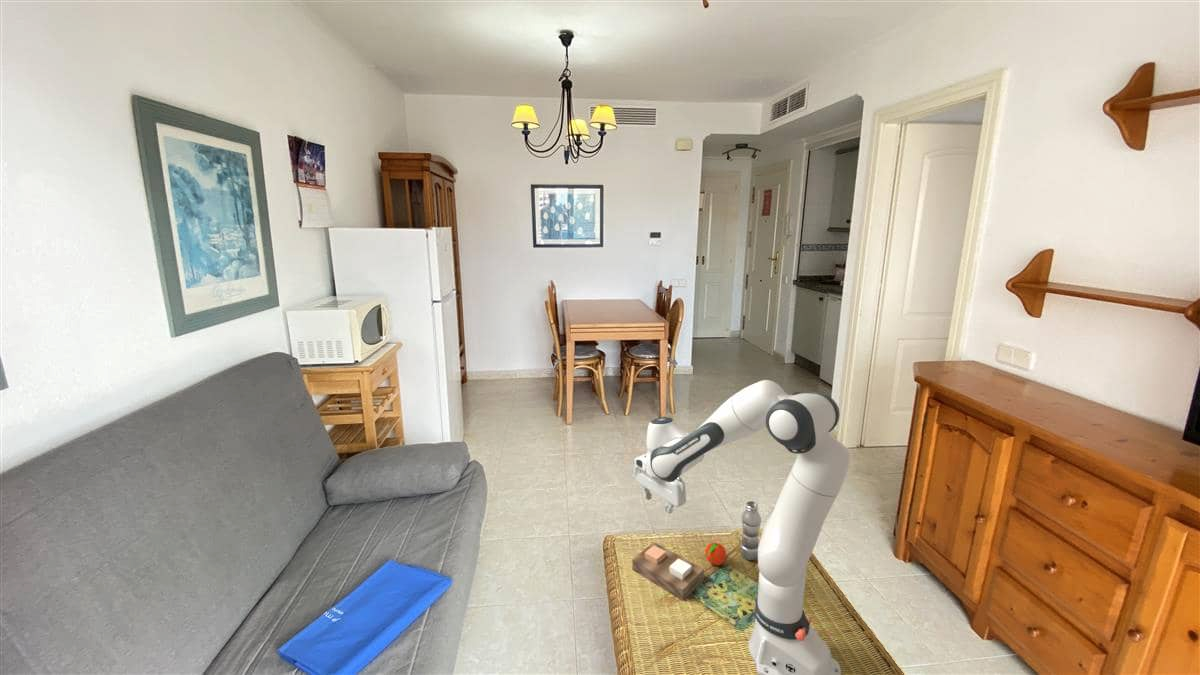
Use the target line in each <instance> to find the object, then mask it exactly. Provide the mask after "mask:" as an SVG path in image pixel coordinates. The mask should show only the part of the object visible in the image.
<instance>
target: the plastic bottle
mask: <svg viewBox="0 0 1200 675" xmlns="http://www.w3.org/2000/svg"><path fill="white" fill-rule="evenodd" d="M758 508H759V507H758V503H757V502H755V501H752V500H751V501H749V500H748V501H747V502H746V505H745V510H743V512H742V515H741V525H742V536H741V542H740V545H739V546H740V547H739V551H740V555H741V556H742V557H743V559H744V560H745V559H746V560H747V561H754V560H758V546H759V542H760V540H759V534H760V528H761V524H762V518H761V515H760V513H759V511H758V510H759V509H758Z"/></svg>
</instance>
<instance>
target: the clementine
mask: <svg viewBox="0 0 1200 675" xmlns="http://www.w3.org/2000/svg"><path fill="white" fill-rule="evenodd" d="M704 553H705V554H704V555H705V557H706V561H708V562H709V563H710V564H711V565H714V566H720V565H722V564H723V563H725V561H726V559H727V551H726V549H725V547H724V546H723V545H722V544H721V543H718V542H711V543H708V545H707V546H706V548H705V551H704Z"/></svg>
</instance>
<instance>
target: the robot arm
mask: <svg viewBox="0 0 1200 675" xmlns="http://www.w3.org/2000/svg"><path fill="white" fill-rule="evenodd" d="M840 414H841V413H840V408H839V406H838V404H837V401H835V400H834V398H832V397H831V396H829V395H828V394H825V393H823V392H821V393H820V392H814V391H804V392H803V391H796V392H793V394H788V393H786V392H785V391H784V389H783V388H782V387H781V386H780V385H779V384H778V383H777V382H775V381H773V380H768V379H763V380H759V381H757V382H755V383H753V384H750V385H747V386H746V387H744V388H742V389H741V390H740V391H738V392H736V393H734V394H733V395H731V396H730V397H729V398H728V399H726V400H725V401H724V402H723V403H722V404H721V405H720V406H719V407H718V408H717V409H716V410H715V411H714V412H713V413H712V414H711V415H710V416H709V417H708V418H707V419H706V420H705V421H704V422H703V423H702V424H700V426H699V427H698V428H697V429H695V430H694V431H692V432H691V433H689V432H687V431H685V430H684V429H682V428H681V427H680V426H679V425H678V424H677V423H676V422H677V421H675V419H673V418H671V417H669V416H661V417H656V418H654V419H652V420H651V421H650V422H649V423H648V426H647V431H646V444H645V445H646V449H647V452H646V453H644V454H641V455H638V456H637V457H634V461H633V462H634V466H633V467H634V468H633V480H634V481H635V483H637V484H639V485H641V486H642V487H641V488H642V491H643V493H644V499H646V500H647V501H650V500H651V499H652V495H653V494H655V495H656V496H658V497H659V498H661V499H662V500H664V501H666V502H667V504H668V505H667V506H665V512H666V513H667V514H672V513H673V510H674V507H675V508H680V507H682V506H683V505H685V504H686V503H687V493H686V484H685V482H684V481H683V479H682V477H681V476H682V475H683V474H685V473H686V472H688V471H689V470H691V469H693V467H696V465H698V464H700V462H702V461H703V459H704V456H705V454H706V453H708V452H710V451H712V450H715V449H717V448H719V447H722V446H725V445H727V444H730V443H733V442H737V441H740V440H741V439H745V438H747V437H749V436H751V435H753V434H756V433H758V432H759V431H760V430H762V429H764V428H766V430H767V431H768V433H769V434H770V436H771V437H772V438H773V440H775V441H776V442H778V443H779V444H780V445H782V446H783V447H784V448H785V449H786V450H788V452H789V453H792V454H797V456H796V460H795V461H794V463H793V465H792V468H791V470H790V472H789V474H788V476H787V478H786V480H785V483H784V485H783V487H782V488H781V491H780V493H779V495H778V498H777V500H776V503H775V506H774V507H773V508H772V509H771V510H770V511H769V512H768V515H767V516H766V517H765V521H764V524H763V528H762V531H761V532H762V533H761V536H760V540H759V546H758V558H757V566H758V569H759V572H758V584H757V585H758V586H757V597H756V599H755V605H754V618H755V620H754V621H755V622H754V625H753V626H754V627H753V630H752V633H751V635H750V637H749V639H748V643H747V644H748V645H747V646H748V652H749V654H750V655H751V658H752V660H753V661H754V663H755V669H756V673H757V674H758V675H842V671H841V666H840V663H839V662H838V661H837V660H836V659H834V658H833V657H832V652H831V649H830V646H829V645H828V644H827V643H826V641H825V640H823V639H822V637H821V636H820V635H819V633H818V631H817V630H816V629H814V628H813V627H812V626H811V623H812V621H813V620H812V618H813V616H812V615H810V616H809V618H807V617H806V616H807V615H806V613H805V611H804V599H805V587H806V578H807V577H806V576H807V566H808V563H809V560H810V558H811V556H812V553H813V551H814V548H815V547H816V543H817V541H818V539H819V536H820V533H821V530H822V529H823V525H824V522H825V521H826V518H827V516H828V515H829V512H830V510H831V508H832V506H833V505H834V503H835V500H837V497H838V495H839V493H840V491H841V489H842V487H843V484H844V482H845V479H846V477H847V474H848V470H849V468H850V467H849V466H850V462H851V456H850V452H849V451H848V448H846V446H845V445H844V444H843V443H842V442H840V441H839V440H837V439H835V438H834V437H833V436H832V435H831V434H830V432H832V431H833V430H834V429H835V428H836V427H837V425H838V423H839V421H840V417H841V416H840ZM652 493H653V494H652Z"/></svg>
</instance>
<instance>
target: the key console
mask: <svg viewBox="0 0 1200 675" xmlns="http://www.w3.org/2000/svg"><path fill="white" fill-rule="evenodd" d="M653 545H655V546H657V547H658V548H660V549H662V550H664V551H666V558H665V559H664V560H663V561H662V562H661V563H659V564H658V565H655V564H654V563H652V562H650V561H648V560H647V559H645V552H646V551H647V550H648V549H650V548H651V547H652V546H653ZM677 559H680V560H682V561H684V562H686V563H688V564H689V565H691V566H692V571H691V573H690V574H689V575H688V576H687V577H686V578H685V579H684V580H681V579H679V578H678V577H676V576H674V575H672V574H671V573H669V566H671V565H672V564H673V563H674V562H675V561H676V560H677ZM631 560H632V561H631V563H632V564H631V566H632V567H631V569H632V571H634V572H635V573H637V574H638V575H640V576H642V577H643V578H644V579H646V580H648V581H649V582H651V583H652V584H654V585H656V586H658V587H659V588H661V589H662V590H664V591H665V592H667V593H669V594H671V595H672V596H673V597H675V598H677V599H679V600H680V601H682V602H683V601H684V600H685V599H687V597H689V595H691V593H692V592H693V591H694V590H695V589H696V588H697V587H698V586H699V585H701V584H702V582H704V580H705V568H703V567H702V566H699V565H698V564H696V563H695V562H692V561H690V560H688V559H687V558H685V557H683V556H681V555H679V554H677V553H675V552H673V551H672V550H670V549H668V548H666V547H665V546H662V545H660V544H658V543H657V542H652V543H651V544H650V545H648V546H647V547H646V548H645V549H643V550H642V551H641V552H640V553H639V554H637V555H636V556H634V557H633V558H632V559H631ZM694 588H695V589H694ZM693 589H694V590H693Z"/></svg>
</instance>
